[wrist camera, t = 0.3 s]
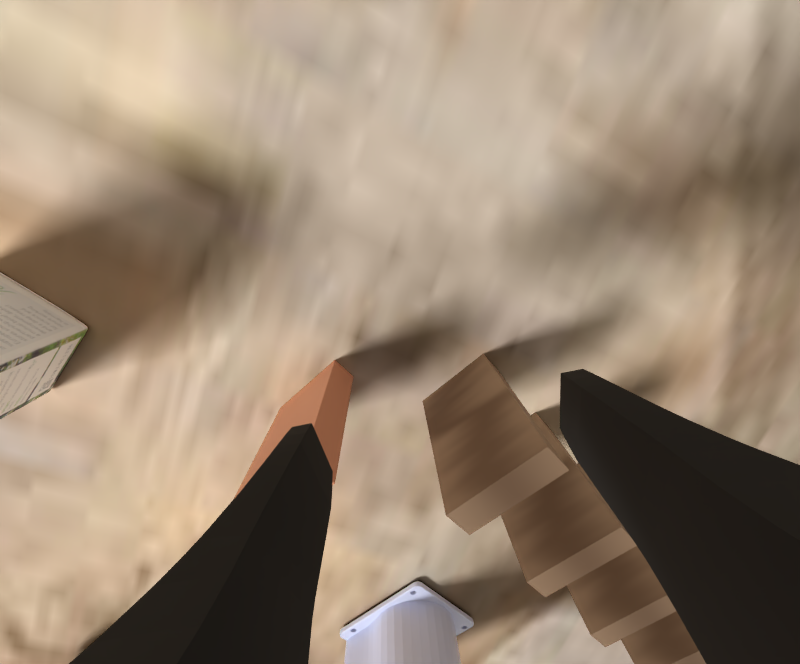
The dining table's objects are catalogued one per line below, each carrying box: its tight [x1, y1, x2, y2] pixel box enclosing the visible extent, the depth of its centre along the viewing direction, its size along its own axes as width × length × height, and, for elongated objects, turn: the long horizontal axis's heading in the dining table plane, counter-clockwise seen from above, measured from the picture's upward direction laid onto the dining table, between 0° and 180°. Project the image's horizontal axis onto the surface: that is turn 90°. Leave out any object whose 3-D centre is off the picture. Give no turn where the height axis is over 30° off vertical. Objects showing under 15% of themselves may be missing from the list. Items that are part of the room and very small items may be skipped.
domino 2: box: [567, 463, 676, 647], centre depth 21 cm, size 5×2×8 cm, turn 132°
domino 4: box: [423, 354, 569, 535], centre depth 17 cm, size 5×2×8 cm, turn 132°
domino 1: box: [621, 611, 706, 664], centre depth 22 cm, size 5×2×8 cm, turn 132°
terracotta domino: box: [235, 360, 353, 497], centre depth 17 cm, size 5×2×8 cm, turn 132°
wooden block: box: [501, 412, 637, 597], centre depth 19 cm, size 5×2×8 cm, turn 132°
